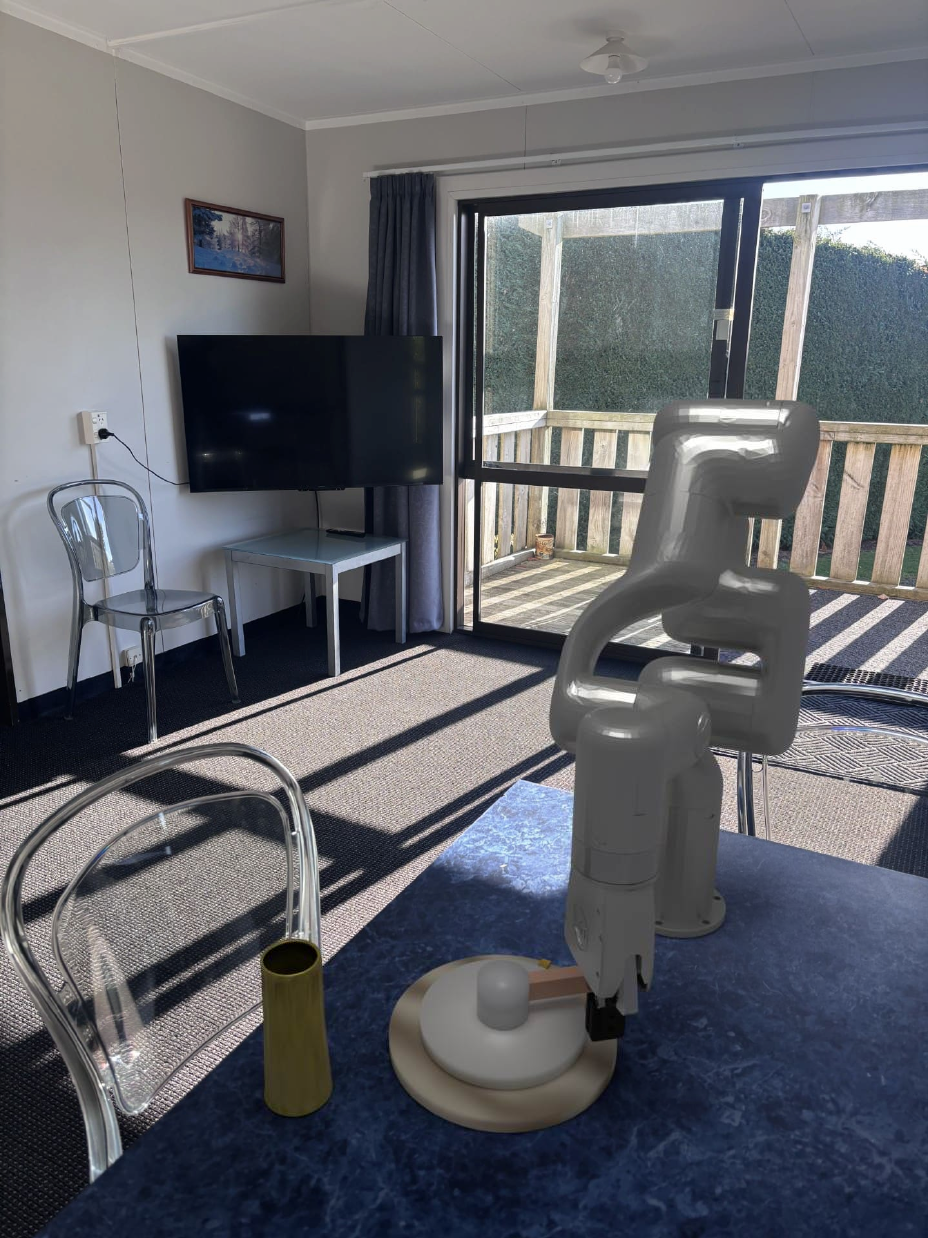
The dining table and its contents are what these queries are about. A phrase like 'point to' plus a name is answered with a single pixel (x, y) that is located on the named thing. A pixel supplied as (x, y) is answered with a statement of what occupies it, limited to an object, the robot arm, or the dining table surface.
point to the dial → (505, 1022)
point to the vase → (294, 1028)
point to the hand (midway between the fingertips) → (604, 1033)
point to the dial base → (487, 1104)
